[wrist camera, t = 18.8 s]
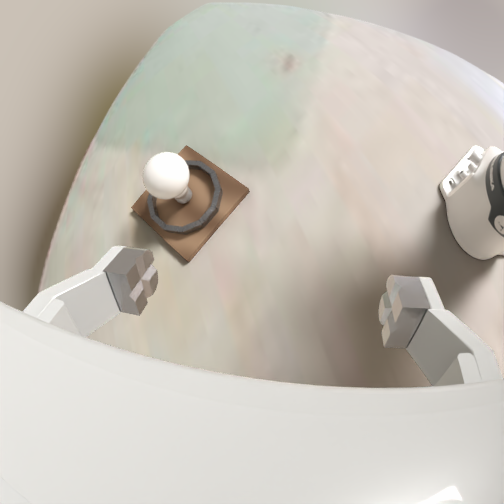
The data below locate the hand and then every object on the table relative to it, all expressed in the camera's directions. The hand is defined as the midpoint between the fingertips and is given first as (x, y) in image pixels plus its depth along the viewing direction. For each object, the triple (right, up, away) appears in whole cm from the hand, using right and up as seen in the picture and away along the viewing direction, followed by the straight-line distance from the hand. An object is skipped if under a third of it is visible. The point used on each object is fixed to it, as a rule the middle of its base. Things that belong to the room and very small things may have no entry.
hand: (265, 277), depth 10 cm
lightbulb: (-11, +9, +35) cm, 37 cm away
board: (-11, +9, +36) cm, 38 cm away
